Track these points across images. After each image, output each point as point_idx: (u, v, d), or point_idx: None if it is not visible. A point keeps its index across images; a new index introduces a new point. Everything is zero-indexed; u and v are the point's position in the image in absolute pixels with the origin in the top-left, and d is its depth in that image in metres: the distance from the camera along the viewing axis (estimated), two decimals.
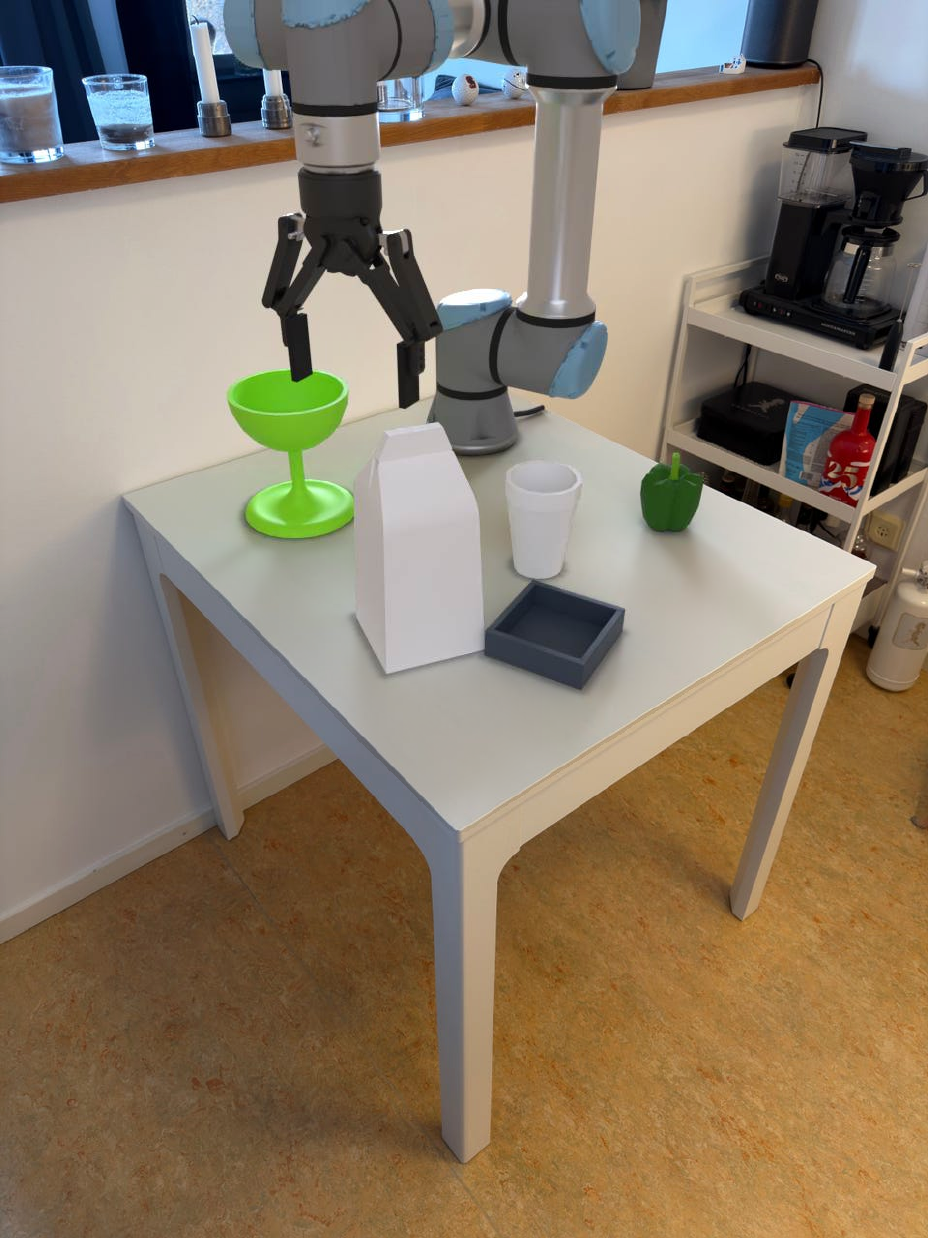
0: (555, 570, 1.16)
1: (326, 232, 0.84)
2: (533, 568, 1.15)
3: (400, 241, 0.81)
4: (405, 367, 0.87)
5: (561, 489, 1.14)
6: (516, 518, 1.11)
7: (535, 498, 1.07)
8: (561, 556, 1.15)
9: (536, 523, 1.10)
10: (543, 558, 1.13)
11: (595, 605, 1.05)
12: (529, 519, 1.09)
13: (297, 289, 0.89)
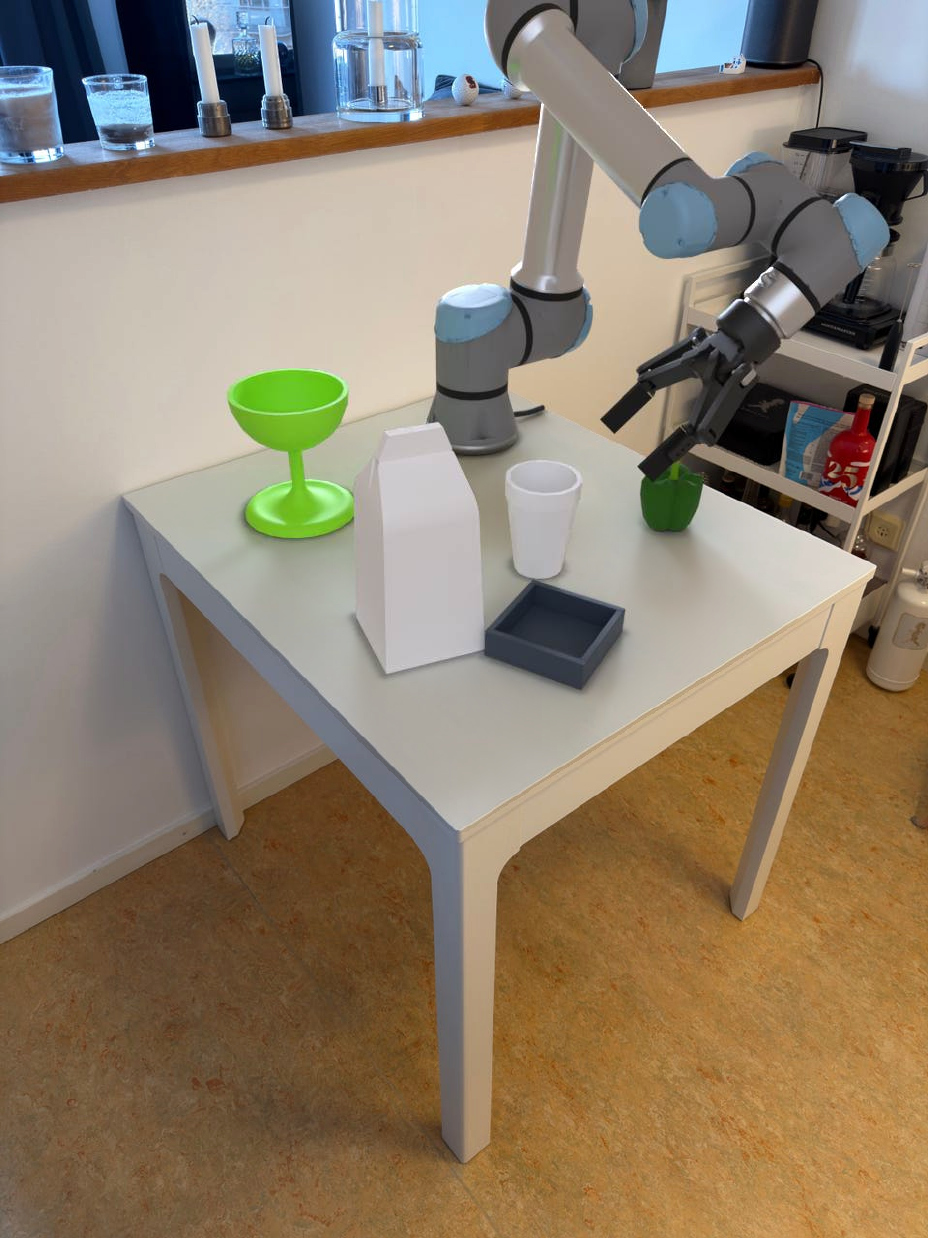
0: (555, 570, 1.16)
1: (714, 345, 1.06)
2: (533, 568, 1.15)
3: (748, 371, 1.00)
4: (668, 444, 1.03)
5: (561, 489, 1.14)
6: (516, 518, 1.11)
7: (535, 498, 1.07)
8: (561, 556, 1.15)
9: (536, 523, 1.10)
10: (543, 558, 1.13)
11: (595, 605, 1.05)
12: (529, 518, 1.09)
13: (663, 369, 1.11)
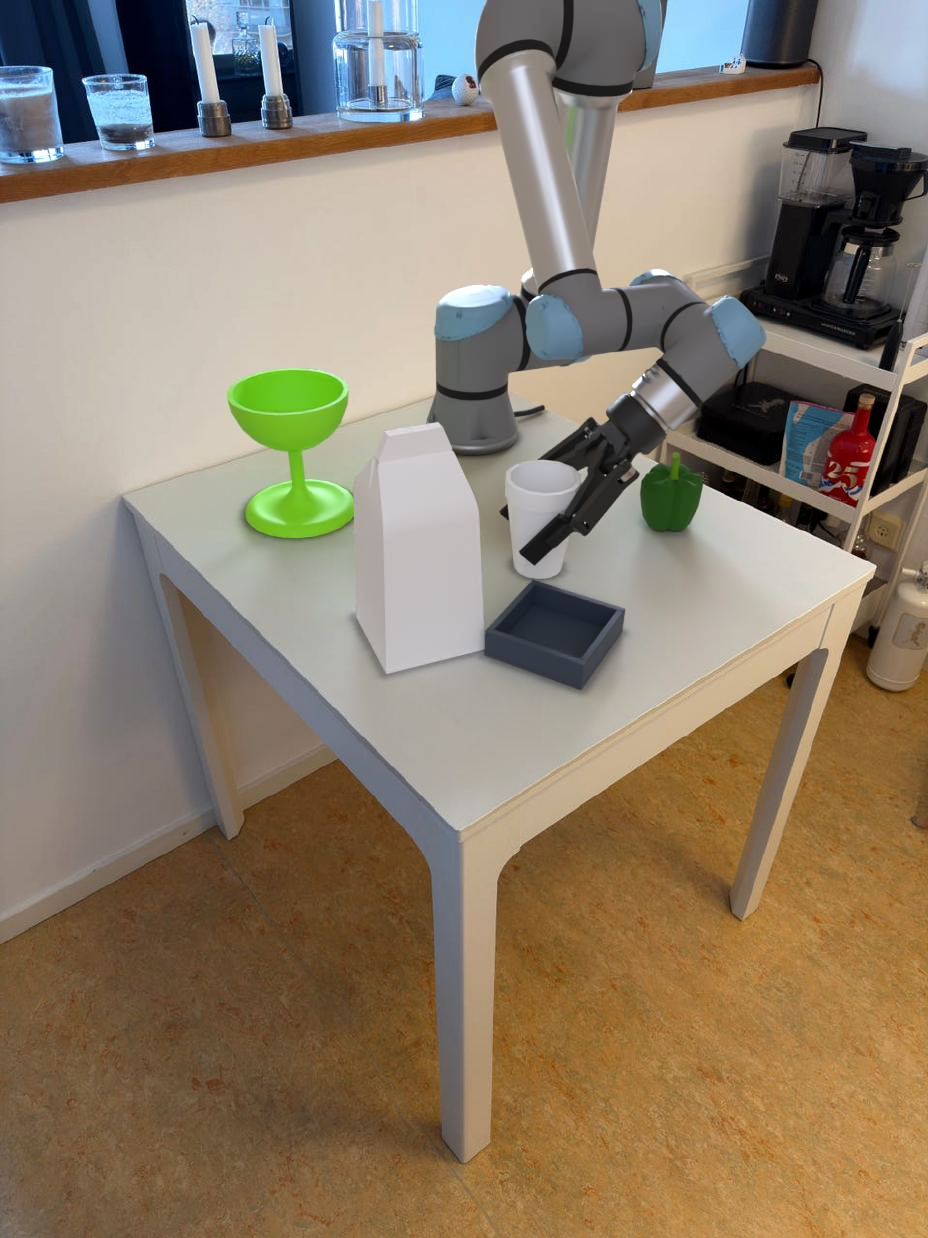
0: (555, 570, 1.16)
1: (605, 435, 1.10)
2: (533, 568, 1.15)
3: (626, 470, 1.04)
4: (546, 532, 1.09)
5: (561, 489, 1.14)
6: (516, 518, 1.11)
7: (535, 498, 1.07)
8: (561, 556, 1.15)
9: (536, 523, 1.10)
10: (543, 558, 1.13)
11: (595, 605, 1.05)
12: (529, 519, 1.09)
13: None
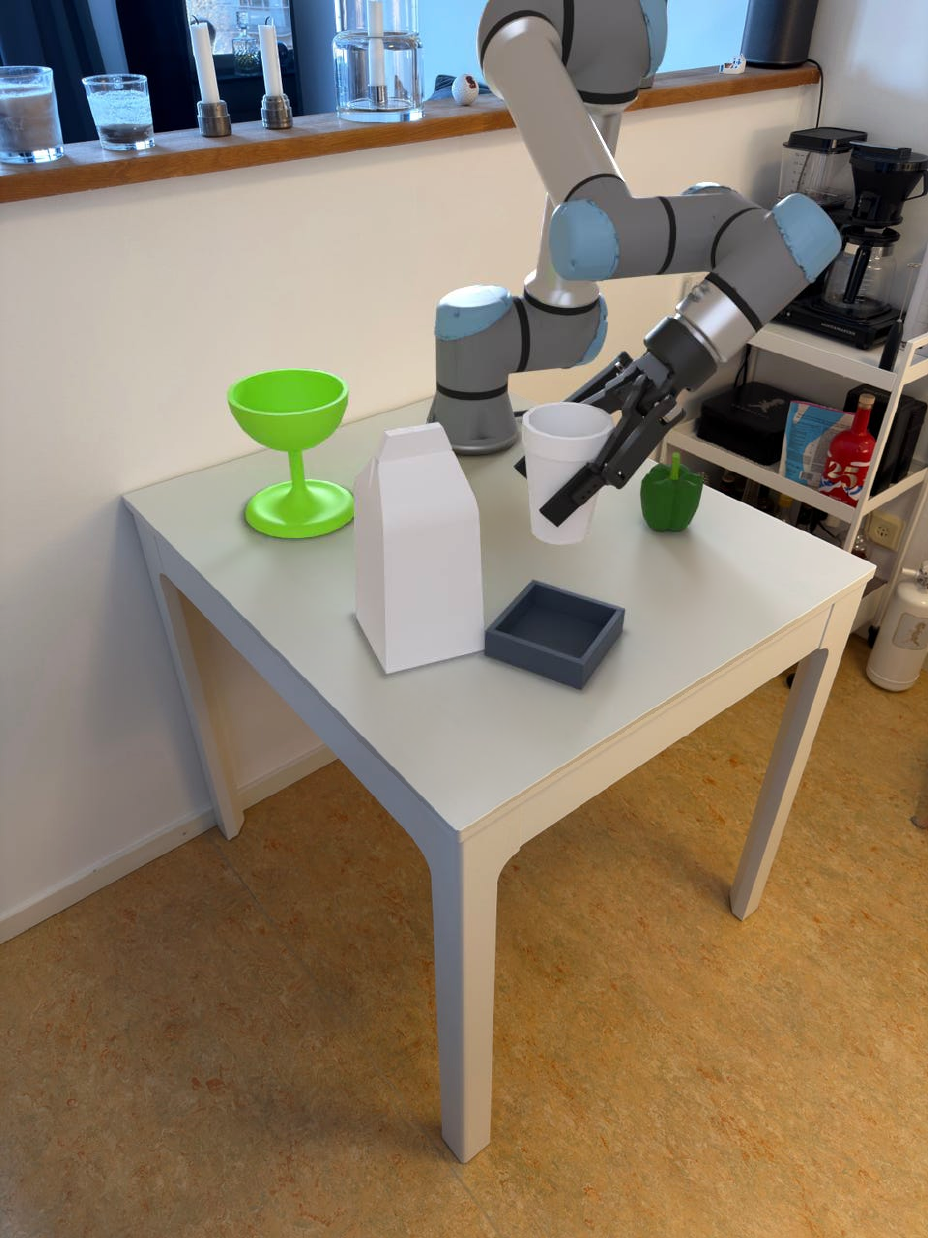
0: (581, 534, 0.97)
1: (642, 369, 0.91)
2: (555, 532, 0.96)
3: (670, 407, 0.86)
4: (572, 486, 0.90)
5: None
6: (535, 470, 0.92)
7: (559, 444, 0.88)
8: (588, 517, 0.96)
9: (560, 475, 0.91)
10: (567, 519, 0.95)
11: (595, 605, 1.05)
12: (551, 470, 0.91)
13: None
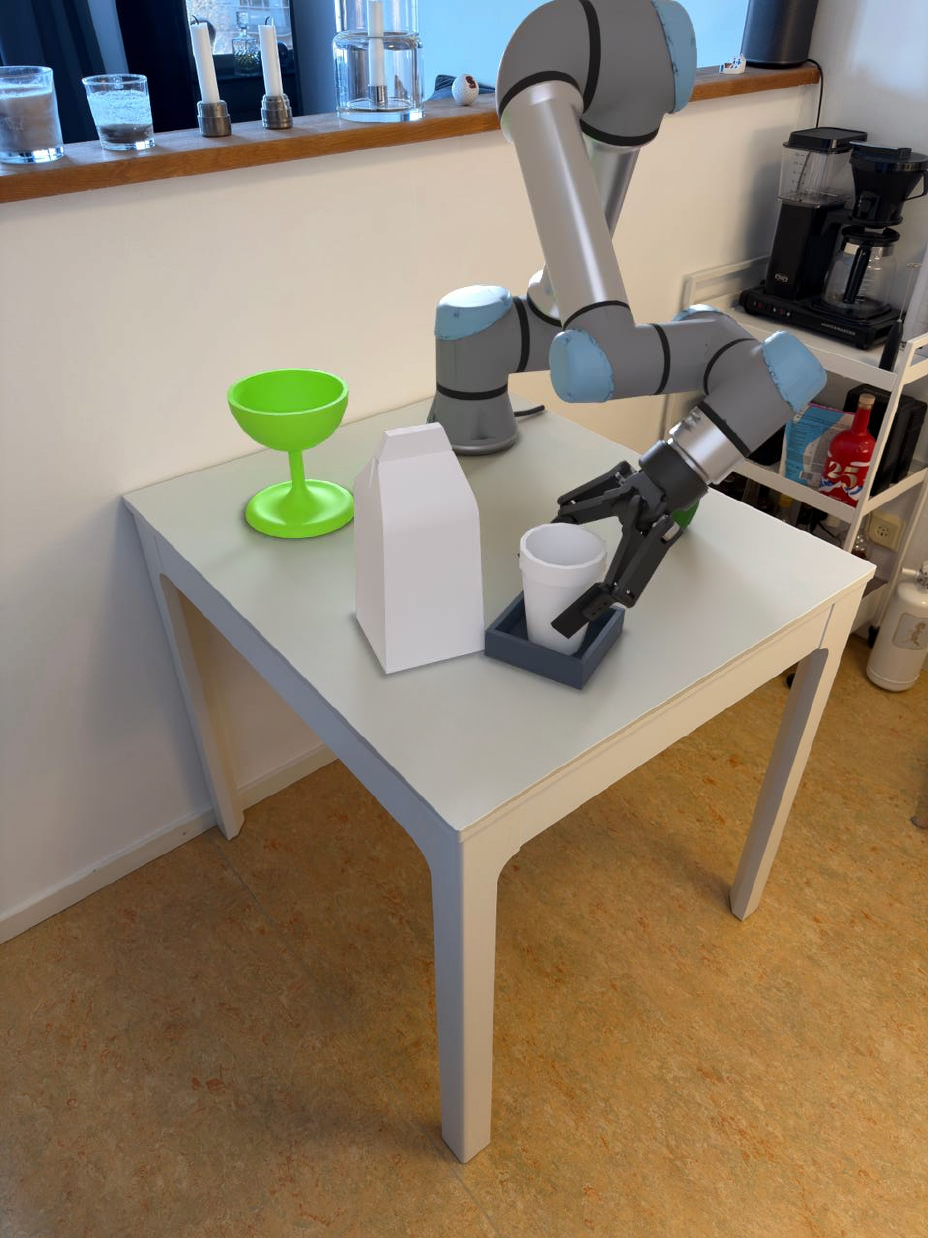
0: (575, 647, 1.02)
1: (637, 487, 0.96)
2: (550, 645, 1.01)
3: (669, 526, 0.90)
4: (583, 602, 0.93)
5: (582, 556, 1.01)
6: (532, 591, 0.97)
7: (555, 572, 0.93)
8: (582, 632, 1.01)
9: (555, 598, 0.96)
10: (562, 635, 1.00)
11: None
12: (547, 593, 0.96)
13: (584, 506, 1.01)
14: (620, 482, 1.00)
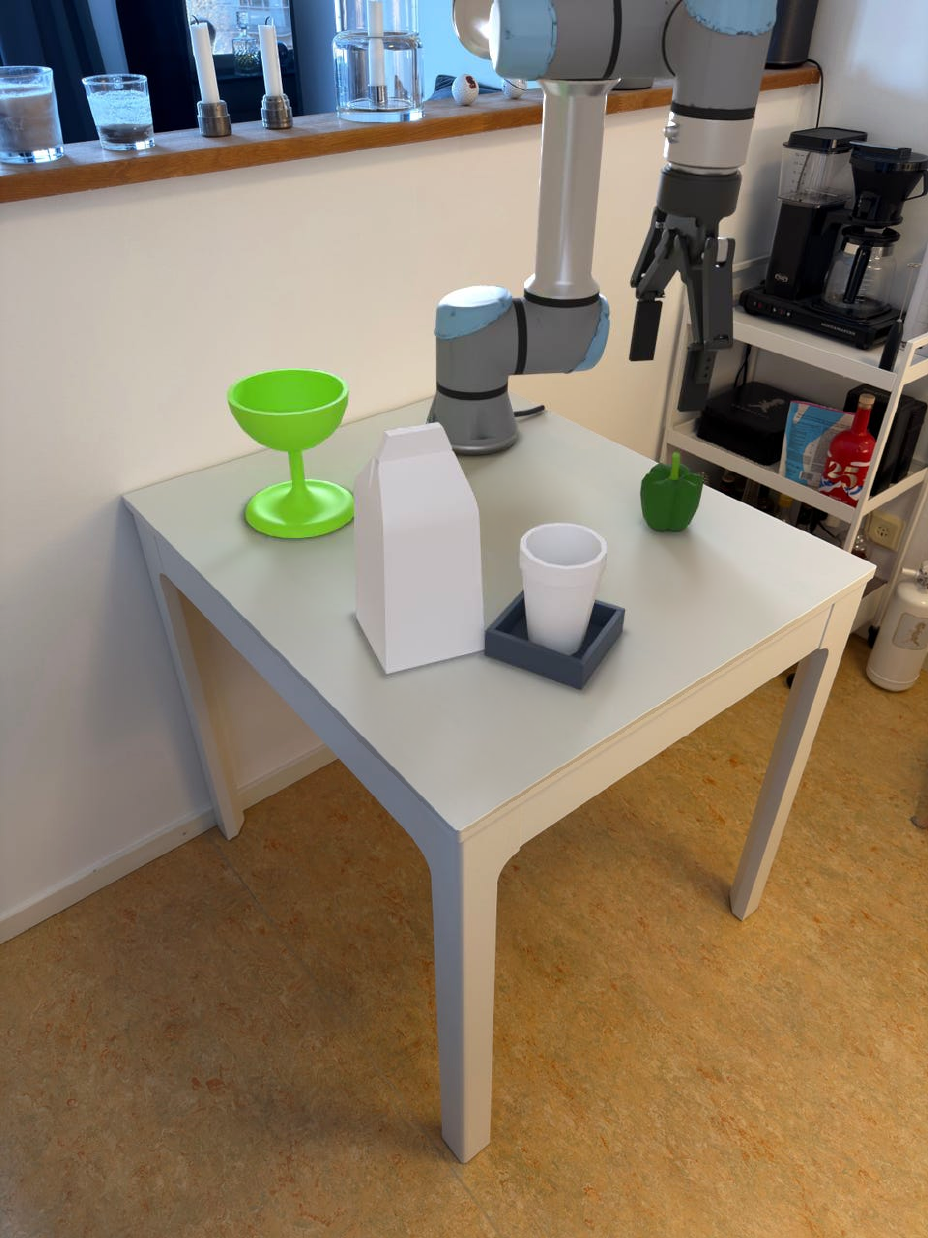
0: (575, 647, 1.02)
1: (676, 227, 0.88)
2: (550, 645, 1.01)
3: (715, 248, 0.81)
4: (690, 371, 0.88)
5: (582, 556, 1.01)
6: (532, 591, 0.97)
7: (555, 572, 0.93)
8: (582, 632, 1.01)
9: (555, 598, 0.96)
10: (562, 635, 1.00)
11: (595, 605, 1.05)
12: (547, 593, 0.96)
13: (649, 276, 0.94)
14: (665, 229, 0.91)
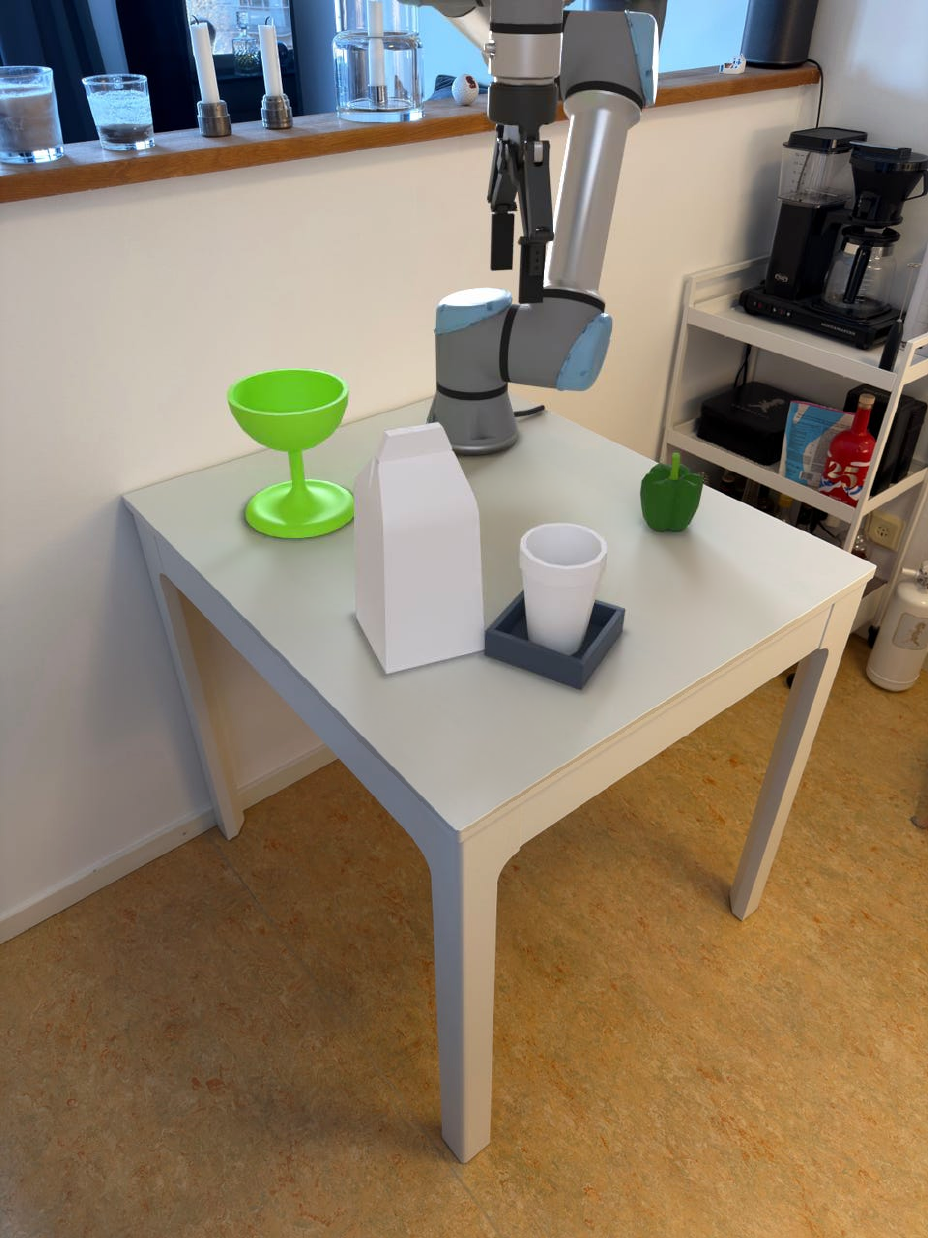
0: (575, 647, 1.02)
1: (508, 138, 0.99)
2: (550, 645, 1.01)
3: (532, 148, 0.93)
4: (524, 265, 0.99)
5: (582, 556, 1.01)
6: (532, 591, 0.97)
7: (555, 572, 0.93)
8: (582, 632, 1.01)
9: (555, 598, 0.96)
10: (562, 635, 1.00)
11: (595, 605, 1.05)
12: (547, 593, 0.96)
13: (497, 188, 1.06)
14: None
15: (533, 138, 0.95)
